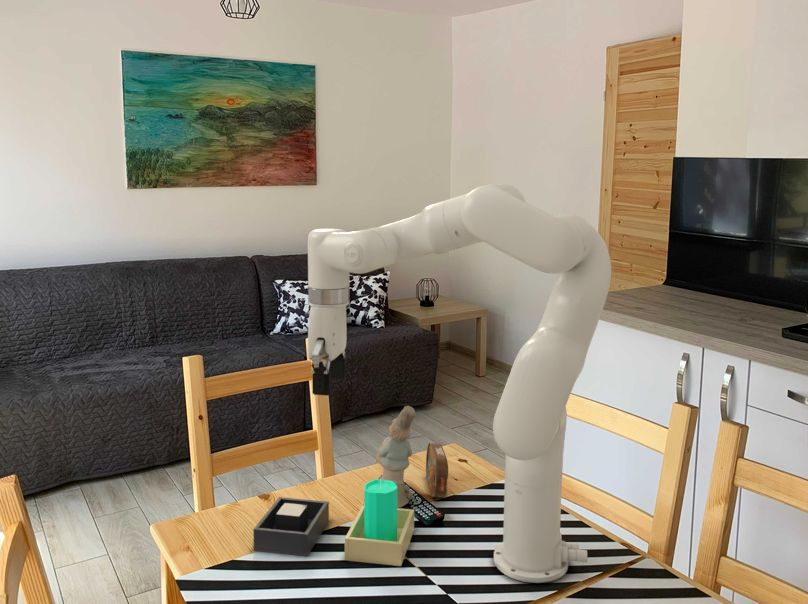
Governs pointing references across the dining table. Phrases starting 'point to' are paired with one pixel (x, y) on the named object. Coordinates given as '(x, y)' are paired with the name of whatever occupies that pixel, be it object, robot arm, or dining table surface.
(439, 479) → the tin
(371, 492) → the candle
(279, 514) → the block
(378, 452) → the figurine
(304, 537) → the charcoal bin
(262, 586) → the dining table surface
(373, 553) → the cream bin
